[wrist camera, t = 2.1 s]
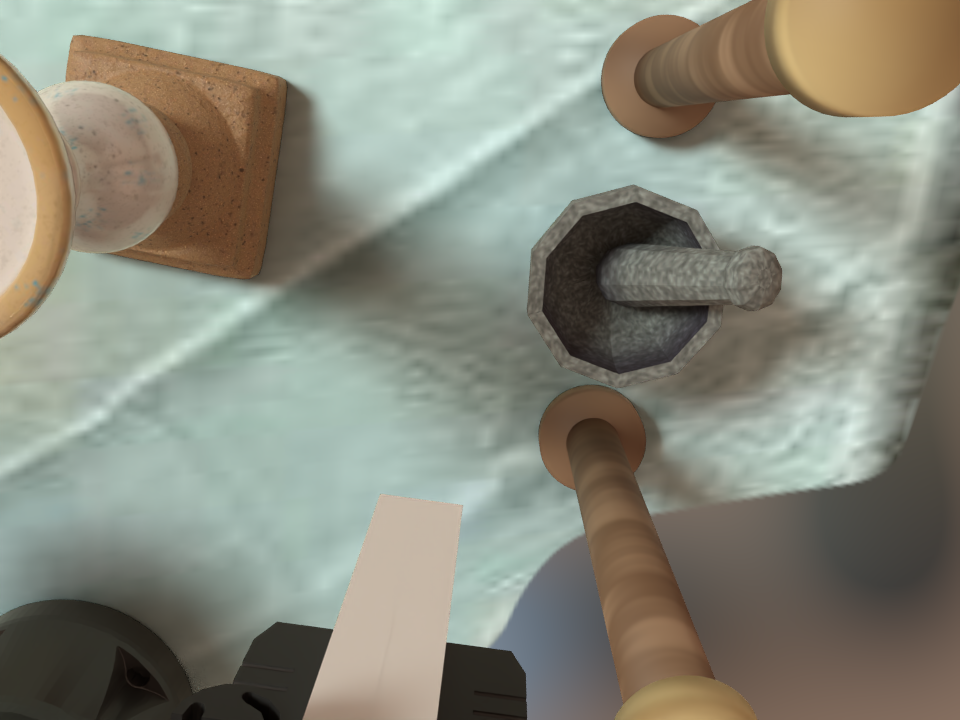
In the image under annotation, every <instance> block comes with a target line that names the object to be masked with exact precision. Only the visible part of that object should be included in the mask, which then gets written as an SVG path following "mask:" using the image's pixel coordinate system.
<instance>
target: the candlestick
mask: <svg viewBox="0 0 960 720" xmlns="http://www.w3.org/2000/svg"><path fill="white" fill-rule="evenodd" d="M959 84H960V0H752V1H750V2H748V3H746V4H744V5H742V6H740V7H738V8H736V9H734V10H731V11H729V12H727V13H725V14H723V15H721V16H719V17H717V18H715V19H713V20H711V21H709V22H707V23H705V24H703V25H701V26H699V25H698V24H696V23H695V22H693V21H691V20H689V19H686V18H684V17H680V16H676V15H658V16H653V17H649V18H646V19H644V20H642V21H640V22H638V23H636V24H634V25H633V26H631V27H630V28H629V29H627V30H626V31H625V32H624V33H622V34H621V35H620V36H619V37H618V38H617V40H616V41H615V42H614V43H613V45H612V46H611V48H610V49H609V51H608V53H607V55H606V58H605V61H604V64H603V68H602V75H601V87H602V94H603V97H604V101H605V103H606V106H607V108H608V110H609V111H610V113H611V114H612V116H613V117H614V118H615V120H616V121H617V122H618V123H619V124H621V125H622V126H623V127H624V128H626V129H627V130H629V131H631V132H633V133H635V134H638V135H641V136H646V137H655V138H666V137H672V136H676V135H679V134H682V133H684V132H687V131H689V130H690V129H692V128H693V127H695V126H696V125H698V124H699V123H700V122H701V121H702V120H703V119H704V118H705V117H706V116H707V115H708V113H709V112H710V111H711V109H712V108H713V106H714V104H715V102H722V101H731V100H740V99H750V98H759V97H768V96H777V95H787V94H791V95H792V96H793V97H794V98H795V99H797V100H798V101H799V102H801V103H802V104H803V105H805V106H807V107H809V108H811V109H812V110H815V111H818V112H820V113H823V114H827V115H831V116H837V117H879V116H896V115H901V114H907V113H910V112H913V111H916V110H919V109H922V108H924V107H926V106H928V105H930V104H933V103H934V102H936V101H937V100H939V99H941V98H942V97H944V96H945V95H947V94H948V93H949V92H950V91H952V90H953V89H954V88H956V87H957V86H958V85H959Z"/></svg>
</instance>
